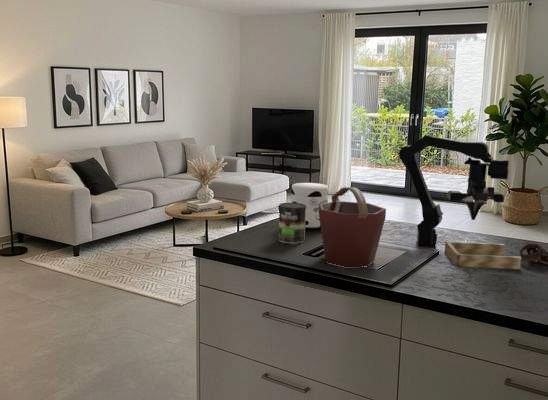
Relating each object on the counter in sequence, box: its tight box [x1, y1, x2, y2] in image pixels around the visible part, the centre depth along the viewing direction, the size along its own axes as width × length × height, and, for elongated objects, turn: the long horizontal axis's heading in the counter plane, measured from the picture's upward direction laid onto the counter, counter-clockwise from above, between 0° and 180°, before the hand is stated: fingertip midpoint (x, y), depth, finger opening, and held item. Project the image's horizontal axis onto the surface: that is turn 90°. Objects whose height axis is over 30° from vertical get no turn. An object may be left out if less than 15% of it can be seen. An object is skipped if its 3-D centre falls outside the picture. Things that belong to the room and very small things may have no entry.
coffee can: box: [278, 202, 306, 244], centre depth 210 cm, size 10×10×14 cm
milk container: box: [290, 182, 329, 230], centre depth 232 cm, size 17×17×18 cm
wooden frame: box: [444, 241, 522, 270], centre depth 191 cm, size 21×17×4 cm
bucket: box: [319, 186, 387, 267], centre depth 185 cm, size 24×22×25 cm
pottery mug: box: [518, 242, 548, 264], centre depth 189 cm, size 12×10×8 cm
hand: (473, 219), depth 200 cm, fingers closed
